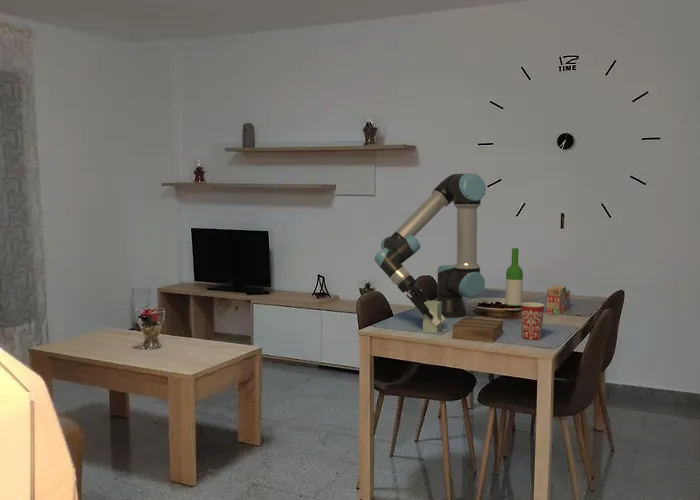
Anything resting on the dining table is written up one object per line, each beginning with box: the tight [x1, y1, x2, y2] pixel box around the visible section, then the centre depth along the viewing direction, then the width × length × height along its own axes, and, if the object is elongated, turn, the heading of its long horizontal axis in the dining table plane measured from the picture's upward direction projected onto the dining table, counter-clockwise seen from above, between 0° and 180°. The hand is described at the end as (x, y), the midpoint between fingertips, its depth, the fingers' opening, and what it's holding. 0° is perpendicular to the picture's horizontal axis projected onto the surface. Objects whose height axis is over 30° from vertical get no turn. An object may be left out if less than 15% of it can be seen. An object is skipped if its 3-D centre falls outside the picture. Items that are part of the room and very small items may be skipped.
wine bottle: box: [504, 247, 524, 306], centre depth 312 cm, size 8×8×30 cm
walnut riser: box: [451, 316, 504, 344], centre depth 262 cm, size 18×16×5 cm
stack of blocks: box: [545, 284, 571, 316], centre depth 314 cm, size 21×6×12 cm, turn 150°
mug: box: [520, 301, 545, 341], centre depth 259 cm, size 13×9×14 cm
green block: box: [422, 300, 442, 334], centre depth 269 cm, size 6×6×12 cm
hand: (440, 322), depth 268 cm, fingers closed on green block, 6 cm apart
